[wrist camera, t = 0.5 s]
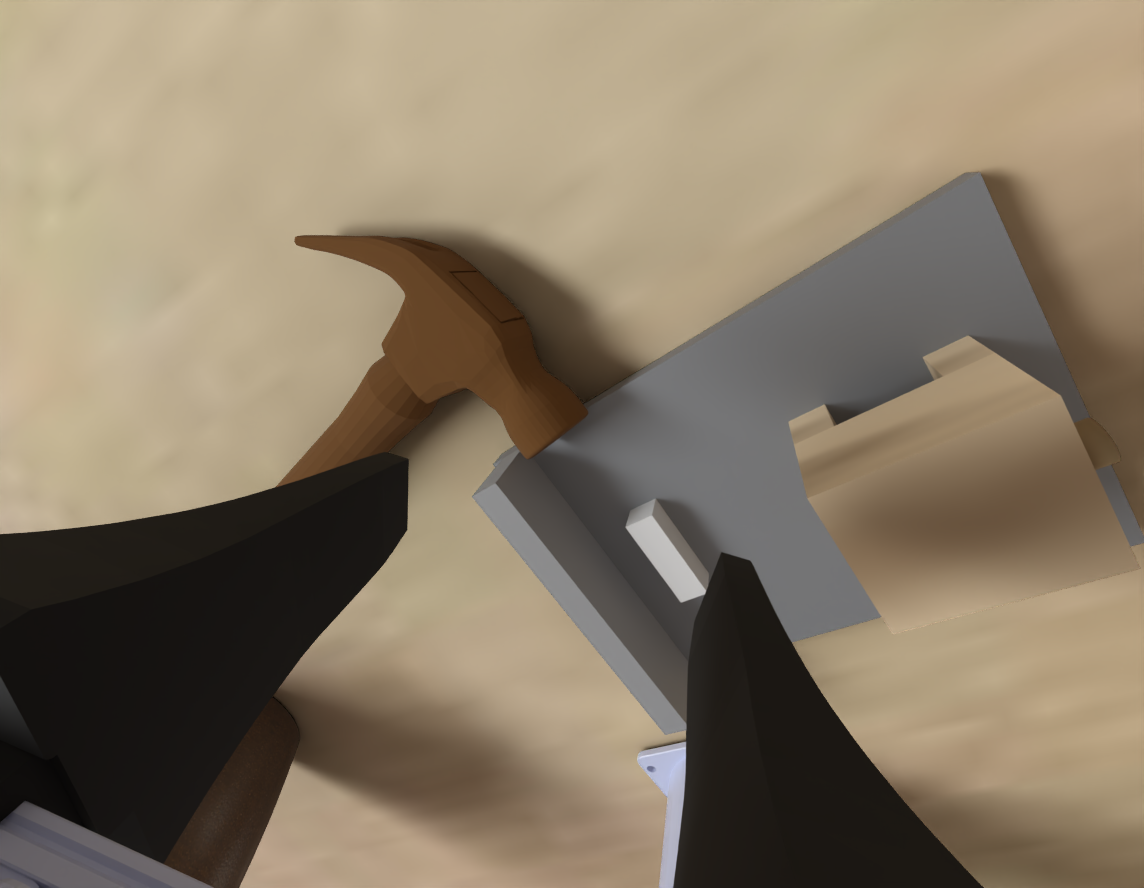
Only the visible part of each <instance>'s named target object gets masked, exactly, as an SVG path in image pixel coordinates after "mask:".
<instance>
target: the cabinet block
mask: <svg viewBox="0 0 1144 888" xmlns="http://www.w3.org/2000/svg"><path fill="white" fill-rule="evenodd" d="M923 359H924V361H925V363H926V365H927V367H928V369H929V371H930V373H931V375H932V377H933V379H934V381H932V382H930V383H928V384H925V385H923V386H921V387H919V388H917V389H914V390H912V391H910V392H908V393H906V394H904V395H901V396H899V397H897V398H895V399H893V400H890V401H888V402H886V403H884V404H882V405H880V406H877V407H875V408H873V409H871V410H869V411H866V412H864V413H862V414H860V415H858V416H855V417H853V418H851V419H849V420H847V421H845V422H842V423H840V424H838V425H837V424H836V423H835V421H834V419H833V418H832V416H831V414H830V412H829V411H828V409H827V407H826V406H825V404H824V405H822V406H820V407H818V408H816V409H814V410H812V411H809V412H807V413H805V414H803V415H801V416H799V417H797V418H795V419H793V420H791V421H789V422H788V423H789V427H790V431H791V435H792V439H793V443H794V447H795V451H796V455H797V459H798V463H799V467H800V471H801V475H802V479H803V483H804V487H805V491H806V495H807V499H808V500H809V502H810V504H811V505H812V507H813V508H814V510H815V512H816V513H817V515H818V516H819V518H820V520H821V521H822V523H823V524H824V526H825V528H826V529H827V531H828V532H829V534H830V535H831V537H832V539H833V540H834V542H835V543H836V545H837V547H838V548H839V550H840V551H841V553H842V555H843V556H844V558H845V559H846V561H847V563H848V564H849V566H850V567H851V569H852V571H853V572H854V574H855V575H856V577H857V579H858V580H859V582H860V583H861V585H862V587H863V588H864V590H865V591H866V593H867V595H868V596H869V598H870V599H871V601H872V603H873V604H874V606H875V607H876V609H877V610H878V612H879V614H880V615H881V617H882V618H883V620H884V622H885V623H886V625H887V626H888V628H889V630H890V631H891V633H892V634H897V633H901V632H904V631H908V630H912V629H916V628H920V627H923V626H927V625H931V624H935V623H938V622H942V621H946V620H950V619H953V618H957V617H961V616H965V615H968V614H972V613H976V612H980V611H983V610H987V609H991V608H995V607H999V606H1002V605H1006V604H1010V603H1014V602H1017V601H1021V600H1025V599H1029V598H1032V597H1036V596H1040V595H1044V594H1047V593H1051V592H1055V591H1059V590H1062V589H1066V588H1070V587H1074V586H1078V585H1081V584H1085V583H1089V582H1093V581H1096V580H1100V579H1104V578H1108V577H1111V576H1115V575H1119V574H1123V573H1126V572H1130V571H1134V570H1138V569H1141V568H1140V566H1139V564H1138V562H1137V560H1136V558H1135V555H1134V553H1133V551H1132V549H1131V547H1130V545H1129V542H1128V540H1127V538H1126V536H1125V534H1124V532H1123V529H1122V527H1121V525H1120V523H1119V521H1118V519H1117V516H1116V514H1115V512H1114V510H1113V508H1112V505H1111V503H1110V501H1109V499H1108V497H1107V495H1106V492H1105V490H1104V488H1103V486H1102V484H1101V482H1100V479H1099V477H1098V475H1097V473H1096V471H1095V470H1097V469H1100V468H1103V467H1106V466H1109V465H1112V464H1115V463H1118V462H1120V461H1121V456H1120V453H1119V450H1118V448H1117V446H1116V445H1115V443H1114V441H1113V440H1112V438H1111V437H1110V436H1109V434H1108V433H1107V432H1106V431H1105V429H1104V428H1103V427H1102V426H1101V425H1100V424H1099V423H1097V422H1096V421H1095V420H1093V419H1092V418H1085V419H1083V420H1080V421H1077V422H1075V423H1073V421H1072V419H1071V416H1070V414H1069V412H1068V410H1067V408H1066V405H1065V403H1064V401H1063V399H1062V397H1061V395H1059V394H1058V393H1056V392H1055V391H1053V390H1052V389H1050V388H1048V387H1047V386H1045V385H1044V384H1042V383H1041V382H1039V381H1038V380H1036V379H1035V378H1033V377H1032V376H1030V375H1028V374H1027V373H1025V372H1024V371H1022V370H1021V369H1019V368H1018V367H1016V366H1015V365H1013V364H1012V363H1010V362H1008V361H1007V360H1005V359H1004V358H1002V357H1001V356H999V355H998V354H996V353H995V352H993V351H992V350H990V349H988V348H987V347H985V346H984V345H982V344H981V343H979V342H978V341H976V340H975V339H973V338H972V337H970V336H966V337H964V338H962V339H959V340H957V341H955V342H953V343H951V344H949V345H947V346H945V347H943V348H941V349H939V350H937V351H934V352H932V353H930V354H928V355H926V356H924V357H923Z"/></svg>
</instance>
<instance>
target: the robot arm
mask: <svg viewBox="0 0 1144 888" xmlns="http://www.w3.org/2000/svg"><path fill="white" fill-rule="evenodd" d="M408 466H409V459H407V458H404V457H400V456H397V455H393V454H390V453H387V452H383V453H379V454H375V455H372V456H369V457H366V458H362V459H359V460H356V461H353V462H350V463H348V464H345V465H342V466H339V467H336V468H333V469H330V470H327V471H324V472H321V473H318V474H316V475H313V476H310V477H307V478H304V479H301V480H298V481H295V482H292V483H288V484H285V485H282V486H278V487H275V488H272V489H268V490H265V491H262V492H259V493H255V494H252V495H249V496H245V497H241V498H238V499H234V500H230V501H226V502H222V503H218V504H214V505H209V506H205V507H201V508H196V509H192V510H187V511H182V512H177V513H172V514H166V515H160V516H154V517H148V518H142V519H136V520H131V521H125V522H119V523H111V524H104V525H96V526H88V527H80V528H70V529H60V530H51V531H40V532H28V533H13V534H0V888H214V887H211V886H209V885H207V884H205V883H203V882H201V881H198V880H196V879H194V878H192V877H190V876H188V875H185V874H183V873H181V872H179V871H177V870H175V869H172V868H170V867H168V866H166V865H164V862H165V861H166V859H167V857H168V855H169V854H170V852H171V850H172V849H173V847H174V845H175V844H176V842H177V841H178V839H179V837H180V836H181V834H182V833H183V831H184V829H185V828H186V826H187V824H188V823H189V821H190V820H191V818H192V816H193V815H194V813H195V812H196V810H197V808H198V807H199V805H200V803H201V802H202V800H203V799H204V797H205V795H206V794H207V792H208V791H209V789H210V787H211V786H212V784H213V783H214V781H215V780H216V778H217V777H218V775H219V774H220V772H221V771H222V769H223V768H224V766H225V765H226V763H227V762H228V760H229V759H230V757H231V756H232V754H233V753H234V751H235V750H236V748H237V747H238V745H239V744H240V742H241V741H242V739H243V738H244V736H245V735H246V733H247V732H248V730H249V729H250V728H251V726H252V725H253V723H254V722H255V720H256V719H257V718H258V716H259V715H260V713H261V712H262V710H263V709H264V708H265V706H266V705H267V703H268V702H269V700H270V699H271V698H272V696H273V695H274V693H275V692H276V691H277V689H278V688H279V687H280V685H281V684H282V683H283V681H284V680H285V679H286V677H287V676H288V675H289V673H290V672H291V671H292V669H293V668H294V666H295V665H296V664H297V662H298V661H299V660H300V658H301V657H302V656H303V655H304V653H305V652H306V651H307V650H308V649H309V647H310V646H311V645H312V644H313V643H314V641H315V640H316V639H317V638H318V637H319V636H320V634H321V633H322V632H323V631H324V630H325V629H326V628H327V627H328V626H329V625H330V623H331V622H332V621H333V620H334V619H335V618H336V617H337V616H338V615H339V614H340V612H341V611H342V610H343V609H344V608H345V607H346V606H347V605H348V604H349V603H350V602H351V600H352V599H353V598H354V597H355V596H356V595H357V594H358V593H359V592H360V591H361V589H362V588H363V587H364V586H365V585H366V584H367V583H368V582H369V580H370V579H371V578H372V577H373V576H374V575H375V574H376V573H377V571H378V570H379V569H380V568H381V567H382V566H383V565H384V563H385V562H386V560H387V559H388V558H389V556H390V555H391V553H392V552H393V550H394V549H395V548H396V546H397V544H398V543H399V541H400V540H401V538H402V537H403V535H404V534H405V532H406V531H407V519H408ZM638 763H639V765H640V766H641V767H642V768H643V769H644V771H645V772H646V773H647V774H648V775H649V776H650V778H651V779H652V780H653V781H654V782H655V784H656V785H657V786H658V787H659V788H660V790H661V791H662V792H663V793H664V794H665V795H666V797H667V798H668V800H667V810H666V820H665V830H664V841H663V851H662V861H661V871H660V881H659V888H984V887H982V886H981V885H980V884H979V883H978V882H977V881H976V880H975V879H974V877H973V876H972V875H971V874H970V873H969V872H968V871H967V870H966V869H965V868H964V867H963V866H962V865H961V864H960V863H959V862H958V861H957V859H956V858H955V857H954V856H953V855H952V854H951V853H950V852H949V851H948V850H947V849H946V848H945V846H944V845H943V844H942V843H941V842H940V841H939V840H938V839H937V838H936V837H935V836H934V835H933V834H932V832H931V831H930V830H929V829H928V828H927V827H926V826H925V825H924V824H923V822H922V821H921V820H920V819H919V818H918V817H917V816H916V814H915V813H914V812H913V811H912V810H911V809H910V808H909V806H908V805H907V804H906V803H905V802H904V801H903V800H902V798H901V797H900V796H899V795H898V794H897V792H896V791H895V790H894V789H893V787H892V786H891V785H890V784H889V783H888V781H887V780H886V779H885V778H884V776H883V775H882V774H881V773H880V772H879V770H878V769H877V768H876V767H875V765H874V764H873V763H872V762H871V761H870V759H869V758H868V757H867V755H866V754H865V753H864V752H863V750H862V749H861V748H860V746H859V745H858V744H857V742H856V741H855V740H854V738H853V737H852V736H851V734H850V733H849V731H848V730H847V729H846V727H845V726H844V724H843V723H842V722H841V720H840V719H839V717H838V716H837V715H836V713H835V712H834V710H833V709H832V708H831V706H830V705H829V703H828V702H827V700H826V699H825V697H824V696H823V694H822V693H821V691H820V690H819V688H818V687H817V685H816V683H815V682H814V680H813V678H812V677H811V675H810V673H809V672H808V670H807V669H806V667H805V665H804V664H803V662H802V660H801V658H800V657H799V655H798V653H797V651H796V650H795V648H794V646H793V644H792V642H791V640H790V638H789V637H788V635H787V633H786V631H785V629H784V627H783V625H782V624H781V622H780V620H779V618H778V616H777V614H776V612H775V610H774V608H773V606H772V604H771V602H770V599H769V597H768V595H767V593H766V591H765V589H764V587H763V585H762V583H761V580H760V578H759V576H758V574H757V572H756V570H755V568H754V566H753V564H752V562H751V561H750V560H747V559H743V558H740V557H737V556H733V555H730V554H727V553H723V552H721V554H720V557H719V559H718V562H717V564H716V567H715V569H714V572H713V575H712V577H711V580H710V582H709V585H708V587H707V590H706V592H705V595H704V598H703V600H702V603H701V605H700V608H699V610H698V613H697V615H696V618H695V621H694V626H693V633H692V639H691V646H690V653H689V661H688V677H687V721H686V742H682V743H677V744H672V745H668V746H663V747H658V748H654V749H649V750H644V751H641V752H639V754H638Z"/></svg>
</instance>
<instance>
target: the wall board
mask: <svg viewBox="0 0 1144 888" xmlns="http://www.w3.org/2000/svg"><path fill="white" fill-rule="evenodd" d="M966 336H970V337H972V338H973V339H975V340H976V341H978V342H979V343H981V344H982V345H984V346H985V347H987V348H988V349H990V350H992V351H993V352H995V353H996V354H998V355H999V356H1001V357H1002V358H1004V359H1005V360H1007V361H1008V362H1010V363H1012V364H1013V365H1015V366H1016V367H1018V368H1019V369H1021V370H1022V371H1024V372H1025V373H1027V374H1028V375H1030V376H1032V377H1033V378H1035V379H1036V380H1038V381H1039V382H1041V383H1042V384H1044V385H1045V386H1047V387H1048V388H1050V389H1052V390H1053V391H1055V392H1056V393H1058V394H1059V395H1061V397H1062V399H1063V401H1064V403H1065V405H1066V408H1067V410H1068V412H1069V414H1070V416H1071V419H1072V421H1073V423H1075V422H1077V421H1080V420H1083V419H1085V418H1090V416H1089V414H1088V411H1087V409H1086V407H1085V405H1084V402H1083V400H1082V398H1081V396H1080V394H1079V391H1078V389H1077V387H1076V385H1075V382H1074V380H1073V378H1072V376H1071V374H1070V371H1069V369H1068V367H1067V365H1066V362H1065V360H1064V358H1063V356H1062V354H1061V351H1060V349H1059V347H1058V345H1057V342H1056V340H1055V338H1054V336H1053V334H1052V331H1051V329H1050V327H1049V325H1048V322H1047V320H1046V318H1045V316H1044V314H1043V311H1042V309H1041V307H1040V305H1039V302H1038V300H1037V298H1036V296H1035V294H1034V291H1033V289H1032V287H1031V285H1030V282H1029V280H1028V278H1027V276H1026V274H1025V271H1024V269H1023V267H1022V265H1021V262H1020V260H1019V258H1018V256H1017V254H1016V251H1015V249H1014V247H1013V245H1012V242H1011V240H1010V238H1009V236H1008V234H1007V231H1006V229H1005V227H1004V225H1003V222H1002V220H1001V218H1000V216H999V214H998V211H997V209H996V207H995V205H994V202H993V200H992V198H991V196H990V194H989V191H988V189H987V187H986V185H985V182H984V180H983V178H982V176H981V174H980V172H978V173H964V174H962V175H961V176H959V177H958V178H956V179H954V180H953V181H951V182H949V183H948V184H946V185H944V186H943V187H941V188H939V189H938V190H936V191H934V192H933V193H931V194H929V195H928V196H926V197H925V198H923V199H921V200H920V201H918V202H916V203H915V204H913V205H911V206H910V207H908V208H906V209H905V210H903V211H901V212H900V213H898V214H896V215H895V216H893V217H892V218H890V219H888V220H887V221H885V222H883V223H882V224H880V225H878V226H877V227H875V228H873V229H872V230H870V231H868V232H867V233H865V234H863V235H862V236H860V237H859V238H857V239H855V240H854V241H852V242H850V243H849V244H847V245H845V246H844V247H842V248H840V249H839V250H837V251H835V252H834V253H832V254H830V255H829V256H827V257H826V258H824V259H822V260H821V261H819V262H817V263H816V264H814V265H812V266H811V267H809V268H807V269H806V270H804V271H802V272H801V273H799V274H797V275H796V276H794V277H793V278H791V279H789V280H788V281H786V282H784V283H783V284H781V285H779V286H778V287H776V288H774V289H773V290H771V291H769V292H768V293H766V294H764V295H763V296H761V297H760V298H758V299H756V300H755V301H753V302H751V303H750V304H748V305H746V306H745V307H743V308H741V309H740V310H738V311H736V312H735V313H733V314H731V315H730V316H728V317H727V318H725V319H723V320H722V321H720V322H718V323H717V324H715V325H713V326H712V327H710V328H708V329H707V330H705V331H703V332H702V333H700V334H698V335H697V336H695V337H694V338H692V339H690V340H689V341H687V342H685V343H684V344H682V345H680V346H679V347H677V348H675V349H674V350H672V351H670V352H669V353H667V354H665V355H664V356H662V357H661V358H659V359H657V360H656V361H654V362H652V363H651V364H649V365H647V366H646V367H644V368H642V369H641V370H639V371H637V372H636V373H634V374H632V375H631V376H629V377H628V378H626V379H624V380H623V381H621V382H619V383H618V384H616V385H614V386H613V387H611V388H609V389H608V390H606V391H604V392H603V393H601V394H599V395H598V396H596V397H595V398H593V399H591V400H590V401H588V402H586V403H585V404H583V405H584V406H585V408H586V409H587V410H588V415H587V416H586V417H585V418H584V419H583V420H582V421H581V422H579V423H578V424H577V425H576V426H574V427H573V428H572V429H570V430H569V431H568V432H567V433H565V434H564V435H563V436H561V437H560V438H559V439H558V440H556V441H555V442H554V443H552V444H551V445H550V446H548V447H547V448H546V449H544V450H543V451H541V452H540V453H539V454H537V455H536V456H534V457H533V458H531V459H529V460H528V459H526V458H525V457H524V456H523V455H522V453H521V452H520V451H519V449H518V448H517V447H516V445H515V446H514V447H512V448H510V449H509V450H507V451H505V452H504V453H502V454H501V455H500V457H499V458H498V459H497V460H496V461H495V463H494V464H493V465H494V466H495V469H494V470H493V471H492V472H491V474H490V475H489V476H488V477H487V479H486V480H485V481H484V482H483V483H482V485H481V486H480V487H479V488H478V490H477V491H476V492H475V493H474V495H473V496H472V497H473V499H474V500H475V501H476V502H477V504H478V505H479V506H480V507H481V509H482V510H483V511H484V512H485V513H486V515H487V516H488V517H489V518H490V520H491V521H492V522H493V523H494V525H495V526H496V527H497V528H498V529H499V531H500V532H501V533H502V534H503V536H504V537H505V538H506V539H507V541H508V542H509V543H510V544H511V545H512V547H513V548H514V549H515V550H516V552H517V553H518V554H519V555H520V557H521V558H522V559H523V560H524V562H525V563H526V564H527V565H528V566H529V568H530V569H531V570H532V571H533V573H534V574H535V575H536V576H537V578H538V579H539V580H540V581H541V582H542V584H543V585H544V586H545V587H546V589H547V590H548V591H549V592H550V594H551V595H552V596H553V597H554V598H555V600H556V601H557V602H558V603H559V605H560V606H561V607H562V608H563V610H564V611H565V612H566V613H567V614H568V616H569V617H570V618H571V619H572V621H573V622H574V623H575V624H576V626H577V627H578V628H579V629H580V631H581V632H582V633H583V634H584V635H585V637H586V638H587V639H588V640H589V642H590V643H591V644H592V645H593V647H594V648H595V649H596V650H597V651H598V653H599V654H600V655H601V656H602V658H603V659H604V660H605V661H606V663H607V664H608V665H609V666H610V667H611V669H612V670H613V671H614V672H615V674H616V675H617V676H618V677H619V679H620V680H621V681H622V682H623V683H624V685H625V686H626V687H627V688H628V690H629V691H630V692H631V693H632V695H633V696H634V697H635V698H636V699H637V701H638V702H639V703H640V704H641V706H642V707H643V708H644V709H645V711H646V712H647V713H648V714H649V716H650V717H651V718H652V719H653V720H654V722H655V723H656V724H657V725H658V727H659V728H660V729H661V730H662V732H663V733H664V734H665V735H667V734H671V733H676V732H680V731H684V730H686V721H687V677H688V661H689V653H690V646H691V639H692V633H693V626H694V621H695V618H696V615H697V613H698V610H699V608H700V605H701V603H702V600H703V598H704V595H705V592H706V590H707V587H708V585H709V582H710V580H711V577H712V575H713V572H714V569H715V567H716V564H717V562H718V559H719V557H720V554H721V552H723V553H727V554H730V555H733V556H737V557H740V558H743V559H747V560H750V561H751V562H752V564H753V566H754V568H755V570H756V572H757V574H758V576H759V578H760V580H761V583H762V585H763V587H764V589H765V591H766V593H767V595H768V597H769V599H770V602H771V604H772V606H773V608H774V610H775V612H776V614H777V616H778V618H779V620H780V622H781V624H782V625H783V627H784V629H785V631H786V633H787V635H788V637H789V638H790V640H791V642H795V641H798V640H802V639H805V638H809V637H813V636H816V635H820V634H823V633H827V632H830V631H834V630H837V629H841V628H844V627H848V626H851V625H855V624H859V623H862V622H866V621H869V620H873V619H876V618H880V617H881V615H880V614H879V612H878V610H877V609H876V607H875V606H874V604H873V603H872V601H871V599H870V598H869V596H868V595H867V593H866V591H865V590H864V588H863V587H862V585H861V583H860V582H859V580H858V579H857V577H856V575H855V574H854V572H853V571H852V569H851V567H850V566H849V564H848V563H847V561H846V559H845V558H844V556H843V555H842V553H841V551H840V550H839V548H838V547H837V545H836V543H835V542H834V540H833V539H832V537H831V535H830V534H829V532H828V531H827V529H826V528H825V526H824V524H823V523H822V521H821V520H820V518H819V516H818V515H817V513H816V512H815V510H814V508H813V507H812V505H811V504H810V502H809V500H808V499H807V495H806V491H805V487H804V483H803V479H802V475H801V471H800V467H799V463H798V459H797V455H796V451H795V447H794V443H793V439H792V435H791V431H790V427H789V423H788V422H789V421H791V420H793V419H795V418H797V417H799V416H801V415H803V414H805V413H807V412H809V411H812V410H814V409H816V408H818V407H820V406H822V405H824V404H825V406H826V407H827V409H828V411H829V412H830V414H831V416H832V418H833V419H834V421H835V423H836V424H837V425H838V424H840V423H842V422H845V421H847V420H849V419H851V418H853V417H855V416H858V415H860V414H862V413H864V412H866V411H869V410H871V409H873V408H875V407H877V406H880V405H882V404H884V403H886V402H888V401H890V400H893V399H895V398H897V397H899V396H901V395H904V394H906V393H908V392H910V391H912V390H914V389H917V388H919V387H921V386H923V385H925V384H928V383H930V382H932V381H934V379H933V377H932V375H931V373H930V371H929V369H928V367H927V365H926V363H925V361H924V359H923V357H924V356H926V355H928V354H930V353H932V352H934V351H937V350H939V349H941V348H943V347H945V346H947V345H949V344H951V343H953V342H955V341H957V340H959V339H962V338H964V337H966ZM1095 471H1096V473H1097V475H1098V477H1099V479H1100V482H1101V484H1102V486H1103V488H1104V490H1105V492H1106V495H1107V497H1108V499H1109V501H1110V503H1111V505H1112V508H1113V510H1114V512H1115V514H1116V516H1117V519H1118V521H1119V523H1120V525H1121V527H1122V529H1123V532H1124V534H1125V536H1126V538H1127V540H1128V542H1129V545H1130V547H1131V546H1134V545H1138V544H1141V543H1144V536H1143V534H1142V531H1141V529H1140V527H1139V525H1138V523H1137V520H1136V518H1135V516H1134V514H1133V511H1132V509H1131V507H1130V505H1129V503H1128V500H1127V498H1126V496H1125V494H1124V491H1123V489H1122V487H1121V485H1120V483H1119V480H1118V478H1117V476H1116V474H1115V471H1114V469H1113V467H1112V465H1109V466H1106V467H1103V468H1100V469H1097V470H1095Z"/></svg>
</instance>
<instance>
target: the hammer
mask: <svg viewBox="0 0 1144 888" xmlns="http://www.w3.org/2000/svg"><path fill="white" fill-rule="evenodd" d="M294 242H295V243H296V245H298V246H301V247H305V248H309V249H313V250H318V251H324V252H329V253H333V254H337V255H341V256H344V257H347V258H350V259H353V260H356V261H359V262H362V263H364V264H367V265H369V266H372V267H374V268H376V269H379V270H381V271H383V272H385V273H386V274H388V275H389V276H391V277H392V278H393V279H394V280H395V281H396V282H397V283H398V285H399V286H400V287H401V288H402V290H403V291H404V293H405V299H404V302H403V305H402V307H401V309H400V311H399V314H398V316H397V318H396V319H395V321H394V323H393V325H392V326H391V328H390V330H389V332H388V334H387V335H386V337H385V339H384V341H383V342H382V348H383V351H384V353H385V356H384V357H382V358H381V359H380V360H378V361H377V362H376V363H374V364H373V365H372V366H371V368H370V369H369V370H368V372H367V374H366V375H365V377H364V379H363V380H362V382H361V384H360V385H359V387H358V389H357V391H356V392H355V393H354V395H353V396H352V398H351V399H350V401H349V402H348V404H347V405H346V406H345V408H344V409H343V411H342V412H341V414H340V415H339V417H338V418H337V419H336V420H335V421H334V422H333V423H332V424H331V426H330V427H329V428H328V429H327V430H326V431H325V432H324V433H323V435H322V436H321V437H320V438H319V439H318V440H317V441H316V442H315V444H314V445H313V446H312V447H311V448H310V449H309V450H308V451H307V453H306V454H305V455H304V456H303V457H302V458H301V459H300V460H299V461H298V463H297V464H296V465H295V466H294V467H293V468H292V469H291V470H290V472H289V473H288V474H287V475H286V476H285V477H284V478H283V479H282V481H281V482H280V483H279V484H278V485H277V486H276V487H278V486H282V485H285V484H288V483H292V482H295V481H298V480H301V479H304V478H307V477H310V476H313V475H316V474H318V473H321V472H324V471H327V470H330V469H333V468H336V467H339V466H342V465H345V464H348V463H350V462H353V461H356V460H359V459H362V458H366V457H369V456H372V455H375V454H379V453H383V452H389V451H390V450H391V449H392V448H393V447H394V446H395V445H396V444H397V443H398V442H399V441H400V440H401V439H402V438H403V437H405V436H406V435H407V434H408V433H409V432H410V431H411V430H412V429H413V428H414V427H416V426H417V425H418V424H419V423H420V422H422V421H423V420H424V419H425V418H427V417H428V416H429V415H430V414H431V413H432V411H433V409H434V407H435V405H436V404H437V402H438V400H439V399H440V398H442V397H445V396H448V395H451V394H455V393H458V392H461V391H463V390H465V389H469V390H471V391H472V392H474V393H475V394H476V395H477V396H479V397H480V398H481V399H482V400H483V401H485V402H486V403H487V404H488V405H489V406H491V407H492V408H493V409H495V410H496V411H497V412H498V414H499V415H500V416H501V418H502V420H503V422H504V425H505V427H506V430H507V432H508V434H509V436H510V438H511V439H512V441H513V442H514V444H515V445H516V447H517V448H518V449H519V451H520V452H521V453H522V455H523V456H524V457H525V458H526V459H528V460H529V459H531V458H533V457H534V456H536V455H537V454H539V453H540V452H541V451H543V450H544V449H546V448H547V447H548V446H550V445H551V444H552V443H554V442H555V441H556V440H558V439H559V438H560V437H561V436H563V435H564V434H565V433H567V432H568V431H569V430H570V429H572V428H573V427H574V426H576V425H577V424H578V423H579V422H581V421H582V420H583V419H584V418H585V417H586V416H587V415H588V410H587V409H586V408H585V406H584V405H583V404H582V402H581V401H580V400H579V398H578V397H577V396H576V395H575V394H574V393H573V392H572V390H571V389H569V388H568V387H567V386H566V385H565V384H563V383H562V382H561V381H559V380H558V379H556V378H555V377H553V376H552V375H550V374H549V373H547V371H546V370H545V369H544V368H543V367H542V365H541V363H540V361H539V359H538V358H537V355H536V352H535V349H534V346H533V338H532V333H531V330H530V328H529V326H528V324H527V322H526V320H525V317H524V316H523V315H522V314H521V313H520V312H519V311H518V310H517V309H516V308H515V306H514V305H513V304H512V303H511V302H510V301H509V300H508V299H507V298H506V297H505V296H504V295H503V294H502V293H501V292H500V291H499V290H498V289H497V288H496V287H494V286H493V285H492V284H491V283H490V282H489V281H488V280H487V279H486V278H485V277H484V276H483V275H482V274H481V273H480V272H479V271H478V270H477V269H476V268H474V267H473V266H472V265H471V264H470V263H469V262H467V261H466V260H465V259H463V258H462V257H461V256H459V255H458V254H456V253H455V252H453V251H452V250H450V249H448V248H445V247H443V246H439V245H436V244H433V243H430V242H426V241H422V240H418V239H411V238H390V237H383V236H331V235H303V236H297V237H295V241H294Z"/></svg>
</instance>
